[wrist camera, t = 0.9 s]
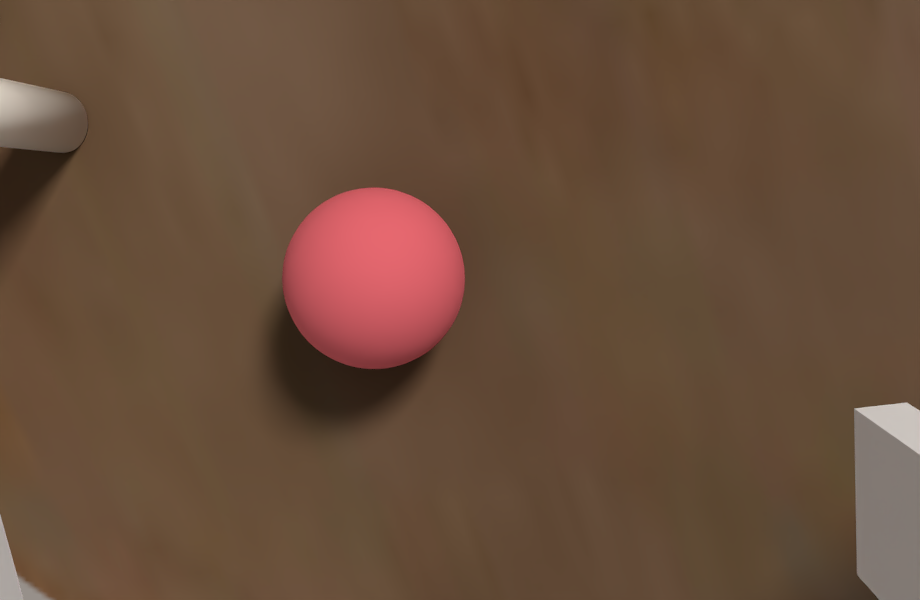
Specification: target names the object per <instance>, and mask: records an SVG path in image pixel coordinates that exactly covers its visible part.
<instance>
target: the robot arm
mask: <svg viewBox="0 0 920 600" xmlns="http://www.w3.org/2000/svg"><path fill="white" fill-rule="evenodd" d="M854 424H855V485H856V546H857V575H858V576H859V578H860V579H861V580H862V581H863V582H864V583H865V584H866V585H867V587H868V588H869V589H870V590H871V591H872V592H873V593H874V594H875V596H876V597H877V598H878V599H879V600H920V410H918V409H916V408H915V407H913V406H911V405H910V404H908V403H899V404H890V405H881V406H872V407H863V408H855V409H854ZM0 600H24V599H23V596H22V592H21V589H20V584H19V581H18V577H17V573H16V570H15V566H14V563H13V559H12V555H11V552H10V548H9V545H8V541H7V537H6V534H5V530H4V526H3V523H2V519H1V516H0Z"/></svg>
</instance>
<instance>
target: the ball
mask: <svg viewBox="0 0 920 600" xmlns="http://www.w3.org/2000/svg"><path fill="white" fill-rule="evenodd" d="M282 282H283V292H284V297H285V301H286V305H287V308H288V310H289V313H290V315H291V317H292V319H293V321H294V323H295V325H296V326H297V328H298V329H299V331H300V332H301V334H302V335H303V336H304V337H305V338H306V340H307V341H308V342H309V343H310V344H311V345H313V346H314V347H315V348H316V349H317V350H319V351H320V352H321V353H323V354H324V355H326V356H328V357H330V358H331V359H333V360H335V361H338V362H340V363H343V364H345V365H348V366H353V367H357V368H364V369H384V368H391V367H396V366H399V365H402V364H406V363H408V362H410V361H412V360H414V359H416V358H419V357H420V356H422V355H423V354H425V353H427V352H428V351H429V350H431V349H432V348H433V347H434V346H435V345H436V344H438V342H439V341H440V340H441V339H442V338H443V337H444V336H445V334H446V333H447V332H448V330H449V329H450V327H451V326H452V324H453V323H454V321H455V319H456V317H457V315H458V312H459V309H460V306H461V304H462V299H463V294H464V286H465V272H464V264H463V258H462V254H461V251H460V248H459V245H458V243H457V241H456V239H455V237H454V235H453V233H452V232H451V230H450V228H449V227H448V225H447V224H446V223H445V222H444V220H443V219H442V218H441V217H440V216H439V215H438V214H437V213H436V212H435V211H434V210H433V209H432V208H431V207H429V206H428V205H426V204H425V203H423V202H422V201H421V200H419V199H417V198H415V197H413V196H411V195H408V194H405V193H402V192H399V191H396V190H391V189H386V188H361V189H356V190H351V191H347V192H344V193H341V194H339V195H336V196H334V197H332V198H330V199H329V200H327V201H325V202H323V203H322V204H321V205H319V206H318V207H317V208H315V209H314V210H313V211H312V212H311V213H310V214H309V215H308V216H307V217H306V218H305V219H304V220H303V222H302V223H301V224H300V225H299V227H298V228H297V230H296V232H295V233H294V235H293V237H292V239H291V241H290V243H289V246H288V248H287V251H286V255H285V258H284V264H283V276H282Z"/></svg>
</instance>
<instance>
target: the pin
mask: <svg viewBox="0 0 920 600" xmlns="http://www.w3.org/2000/svg"><path fill="white" fill-rule="evenodd" d="M87 130H88V118H87V113H86V111H85V108H84V106H83V105H82V103H81V102H80V101H79V100H78V99H77V98H76V97H75V96H74V95H72V94H70V93H67V92H63V91H58V90H54V89H49V88H44V87H40V86H35V85H30V84H26V83H21V82H16V81H12V80H7V79H2V78H0V147H7V148H17V149H27V150H37V151H47V152H57V153H67V152H71V151H73V150H75V149H76V148H78V147H79V146H80V145H81V144H82V142H83V141H84V139H85V137H86V134H87Z"/></svg>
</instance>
